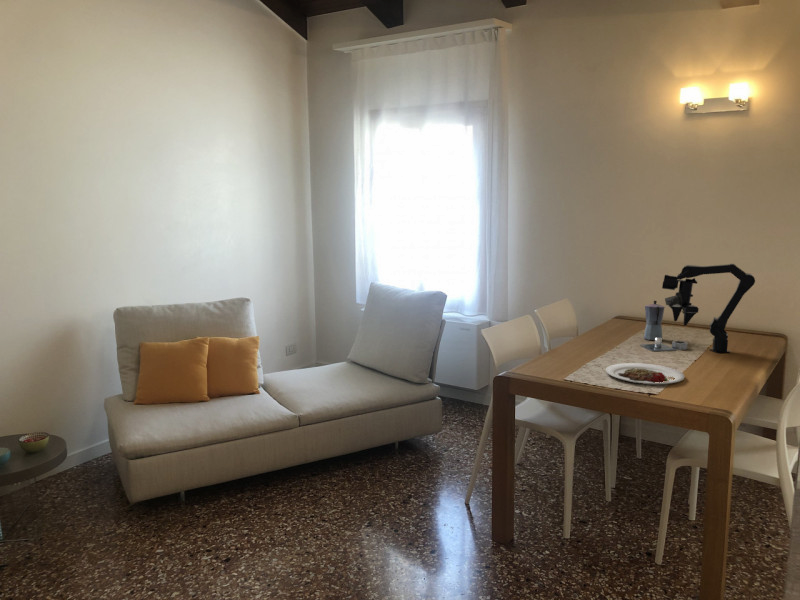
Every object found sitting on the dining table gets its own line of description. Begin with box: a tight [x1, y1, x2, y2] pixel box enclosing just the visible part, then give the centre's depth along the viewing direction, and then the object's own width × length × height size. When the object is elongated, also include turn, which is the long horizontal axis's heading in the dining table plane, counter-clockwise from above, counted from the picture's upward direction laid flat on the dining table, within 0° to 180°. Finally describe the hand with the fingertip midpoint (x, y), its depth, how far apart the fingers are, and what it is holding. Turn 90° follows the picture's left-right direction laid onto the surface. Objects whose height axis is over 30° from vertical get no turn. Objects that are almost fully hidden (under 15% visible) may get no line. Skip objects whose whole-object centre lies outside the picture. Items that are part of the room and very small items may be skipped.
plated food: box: [605, 362, 685, 385], centre depth 260 cm, size 30×30×3 cm
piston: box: [639, 337, 678, 352], centre depth 309 cm, size 12×12×5 cm
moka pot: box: [643, 300, 665, 341], centre depth 326 cm, size 10×15×20 cm, turn 174°
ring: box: [671, 340, 688, 351], centre depth 308 cm, size 6×6×3 cm
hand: (680, 323), depth 308 cm, fingers open, 9 cm apart
